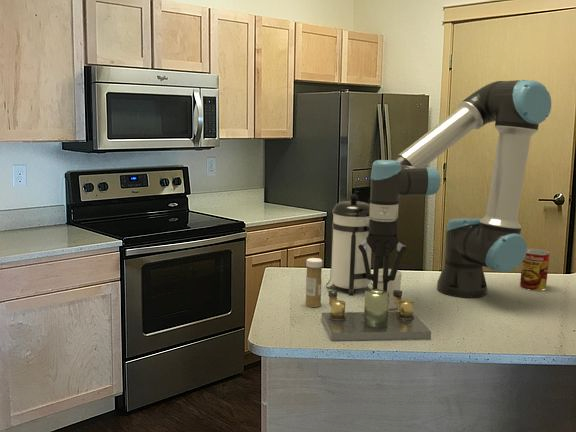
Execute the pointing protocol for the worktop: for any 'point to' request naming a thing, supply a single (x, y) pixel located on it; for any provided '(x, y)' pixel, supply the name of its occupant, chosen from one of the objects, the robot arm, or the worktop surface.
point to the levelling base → (374, 332)
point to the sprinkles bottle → (313, 282)
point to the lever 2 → (403, 305)
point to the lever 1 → (336, 306)
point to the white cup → (391, 286)
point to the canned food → (534, 269)
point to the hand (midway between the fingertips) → (379, 304)
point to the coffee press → (350, 245)
